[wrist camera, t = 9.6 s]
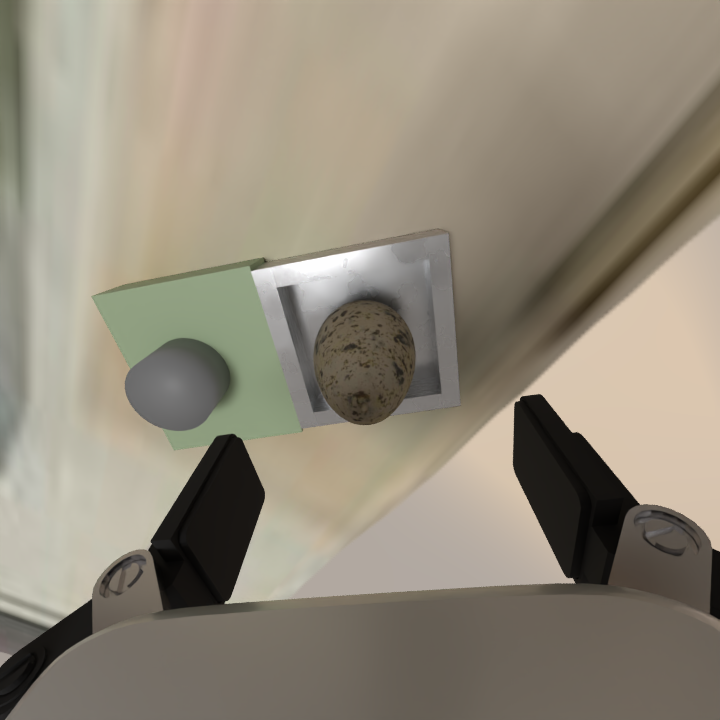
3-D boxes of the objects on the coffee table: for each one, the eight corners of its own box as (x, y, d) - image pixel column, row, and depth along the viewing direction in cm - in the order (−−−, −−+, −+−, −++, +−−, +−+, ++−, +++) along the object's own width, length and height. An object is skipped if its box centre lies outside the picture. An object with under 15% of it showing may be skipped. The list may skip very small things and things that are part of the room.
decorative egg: (314, 357, 25) (285, 450, 16) (331, 277, 22) (308, 333, 13) (393, 375, 25) (409, 474, 16) (418, 299, 23) (453, 366, 14)
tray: (438, 228, 21) (448, 233, 19) (450, 383, 26) (460, 405, 23) (264, 262, 22) (250, 271, 20) (307, 405, 27) (301, 428, 24)
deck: (263, 257, 22) (230, 277, 17) (308, 408, 27) (294, 460, 22) (123, 284, 23) (49, 311, 18) (192, 426, 28) (151, 480, 23)
